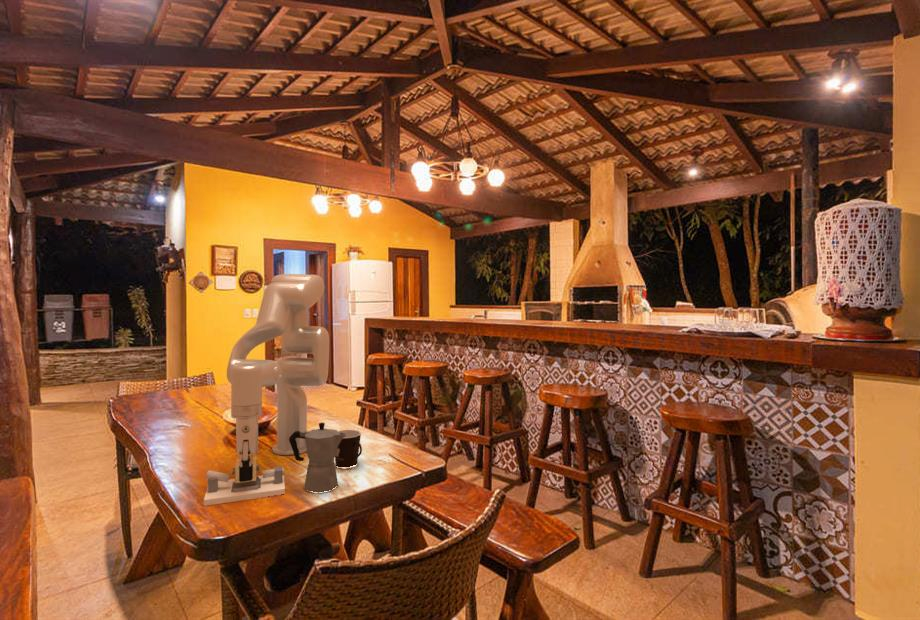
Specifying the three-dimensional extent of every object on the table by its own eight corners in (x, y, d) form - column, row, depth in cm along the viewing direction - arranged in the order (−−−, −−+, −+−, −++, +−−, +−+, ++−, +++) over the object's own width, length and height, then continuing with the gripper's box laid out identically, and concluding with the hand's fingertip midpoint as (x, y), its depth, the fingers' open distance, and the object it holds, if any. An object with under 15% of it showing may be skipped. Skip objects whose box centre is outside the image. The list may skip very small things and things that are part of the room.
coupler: (259, 474, 127) (259, 456, 127) (259, 480, 123) (259, 461, 123) (233, 477, 125) (233, 459, 125) (231, 483, 121) (232, 464, 121)
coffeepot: (348, 480, 133) (349, 418, 132) (341, 494, 123) (342, 427, 123) (294, 480, 132) (294, 418, 131) (283, 494, 123) (283, 427, 122)
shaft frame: (283, 477, 134) (283, 454, 133) (284, 494, 123) (285, 469, 122) (208, 487, 126) (208, 462, 126) (202, 506, 115) (202, 479, 115)
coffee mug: (331, 462, 146) (331, 431, 146) (358, 459, 150) (358, 428, 149) (334, 475, 136) (334, 442, 135) (364, 472, 139) (364, 439, 138)
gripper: (261, 416, 117) (261, 487, 118) (262, 402, 133) (261, 465, 133) (228, 418, 114) (228, 491, 115) (233, 404, 130) (233, 468, 130)
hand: (246, 476), depth 124 cm, fingers closed on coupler, 4 cm apart
